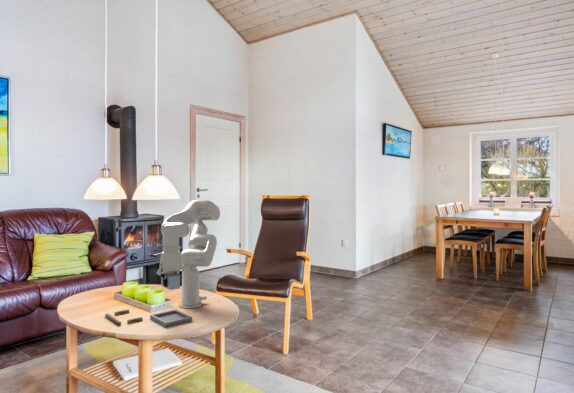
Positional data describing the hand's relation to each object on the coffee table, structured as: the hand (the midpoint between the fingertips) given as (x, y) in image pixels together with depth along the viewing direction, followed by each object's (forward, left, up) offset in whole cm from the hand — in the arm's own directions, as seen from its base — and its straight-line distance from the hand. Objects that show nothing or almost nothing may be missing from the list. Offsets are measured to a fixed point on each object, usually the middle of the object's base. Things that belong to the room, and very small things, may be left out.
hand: (170, 285), depth 201 cm
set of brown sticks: (+17, -17, -17) cm, 29 cm away
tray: (0, 0, -17) cm, 17 cm away
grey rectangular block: (0, 0, -1) cm, 1 cm away
